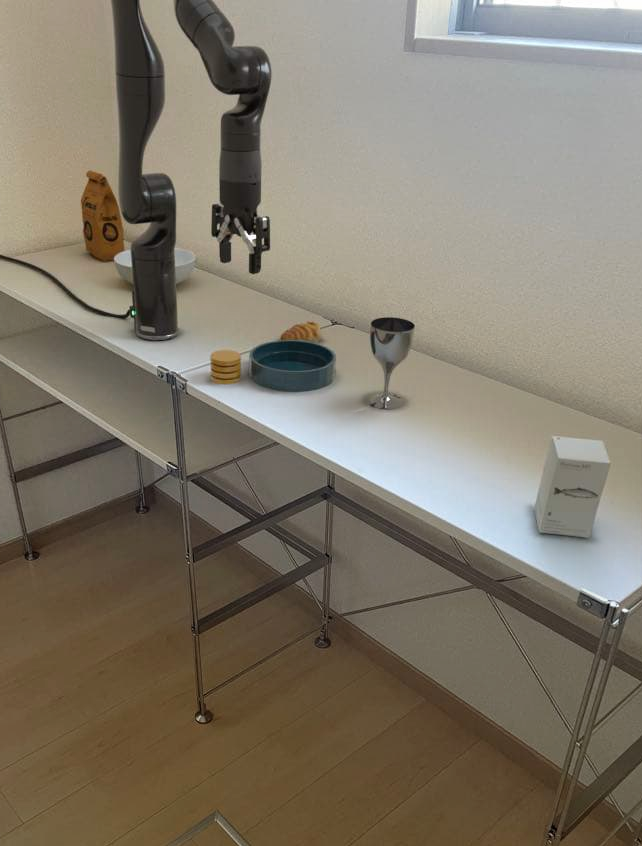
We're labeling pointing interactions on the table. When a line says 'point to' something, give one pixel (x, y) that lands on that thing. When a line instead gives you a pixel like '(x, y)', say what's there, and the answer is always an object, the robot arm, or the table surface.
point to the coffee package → (101, 219)
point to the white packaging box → (571, 486)
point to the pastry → (303, 332)
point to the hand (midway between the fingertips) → (239, 267)
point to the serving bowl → (182, 264)
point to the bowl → (292, 365)
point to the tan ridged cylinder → (225, 367)
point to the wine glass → (390, 352)
